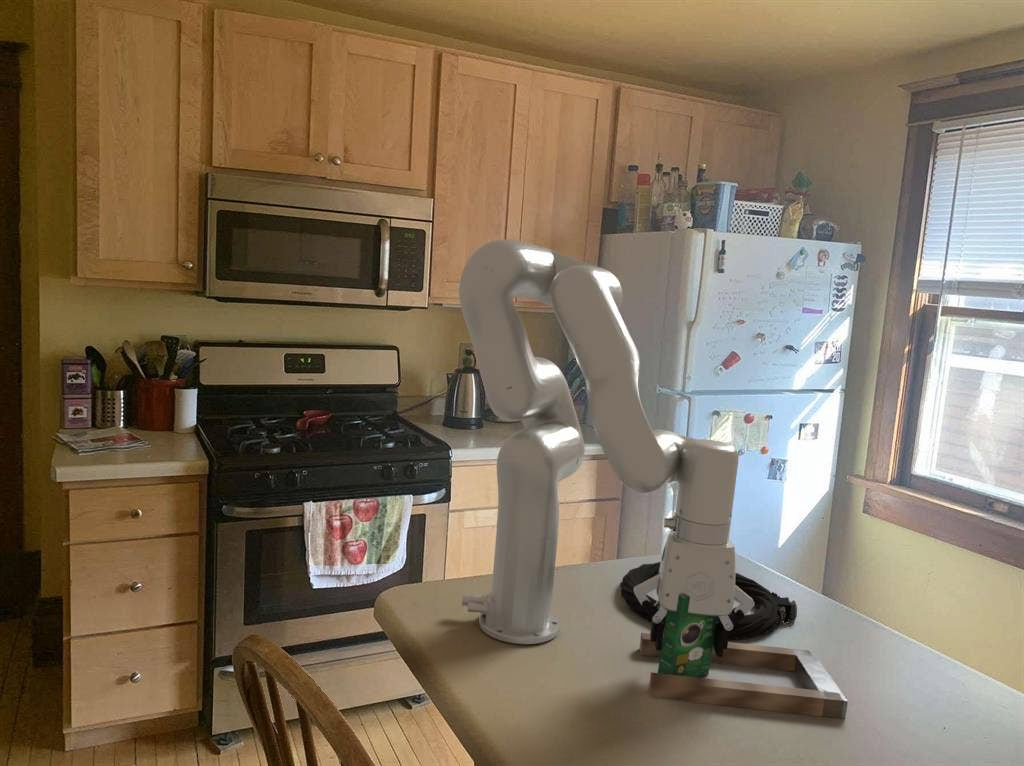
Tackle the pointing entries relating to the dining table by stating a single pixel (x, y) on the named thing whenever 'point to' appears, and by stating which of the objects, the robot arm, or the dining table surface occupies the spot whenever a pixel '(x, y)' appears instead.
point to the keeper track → (812, 700)
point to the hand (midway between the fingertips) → (687, 648)
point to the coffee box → (687, 641)
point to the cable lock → (750, 626)
